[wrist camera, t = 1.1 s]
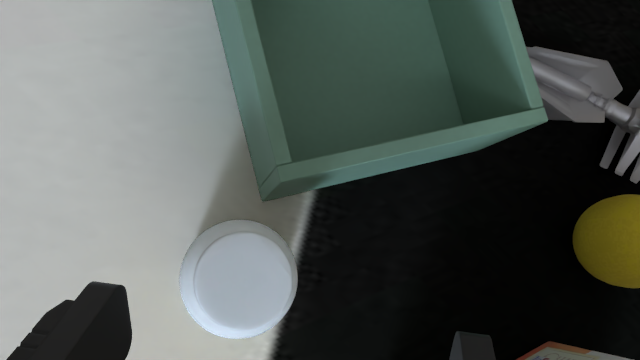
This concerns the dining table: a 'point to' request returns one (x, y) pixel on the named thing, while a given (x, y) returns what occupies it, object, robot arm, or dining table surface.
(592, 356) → the cracker box
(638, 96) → the spaceship
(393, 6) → the open storage box
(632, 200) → the lemon
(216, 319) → the supplement bottle
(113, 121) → the dining table surface
